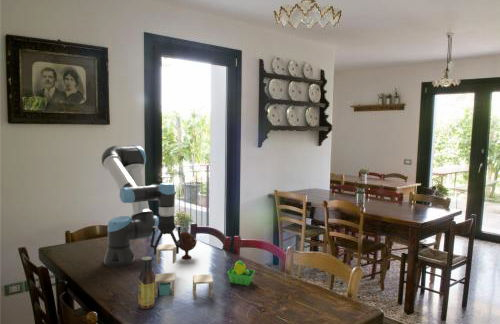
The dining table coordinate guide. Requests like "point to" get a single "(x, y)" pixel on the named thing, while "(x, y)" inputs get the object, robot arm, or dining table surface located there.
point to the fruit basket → (240, 274)
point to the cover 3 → (202, 280)
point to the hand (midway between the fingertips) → (166, 260)
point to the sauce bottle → (146, 284)
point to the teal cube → (164, 288)
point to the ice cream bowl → (187, 244)
